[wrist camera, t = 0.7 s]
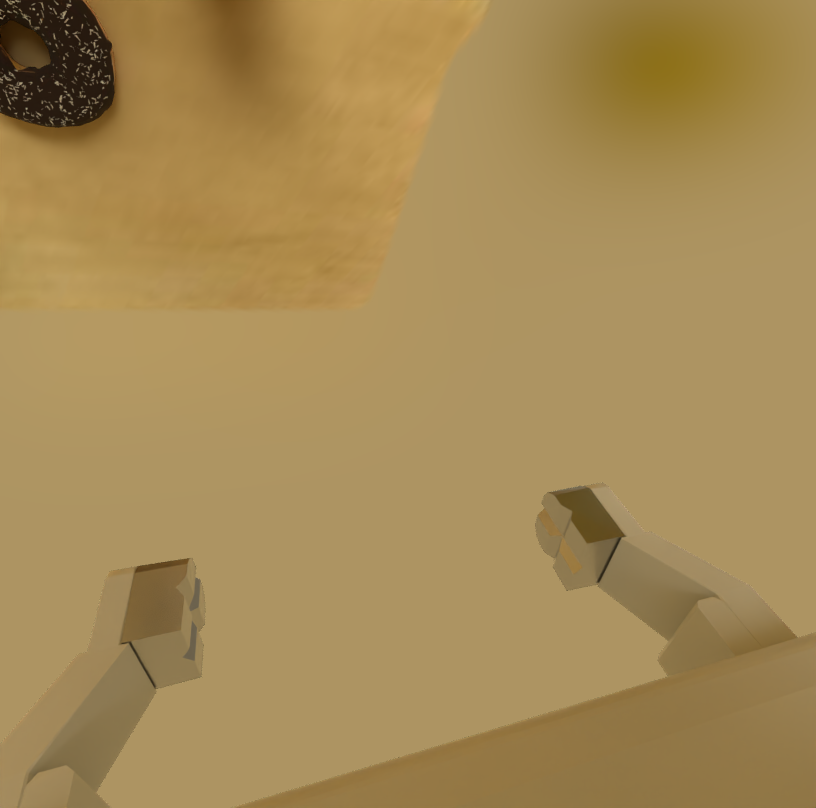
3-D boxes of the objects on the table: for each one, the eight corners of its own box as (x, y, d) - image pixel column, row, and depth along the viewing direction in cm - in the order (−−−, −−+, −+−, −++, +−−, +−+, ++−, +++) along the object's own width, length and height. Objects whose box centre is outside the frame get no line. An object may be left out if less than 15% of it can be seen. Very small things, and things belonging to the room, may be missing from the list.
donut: (17, 134, 42) (12, 155, 40) (-127, -47, 32) (-144, -32, 30) (143, 93, 43) (145, 112, 41) (40, -94, 33) (36, -83, 31)
